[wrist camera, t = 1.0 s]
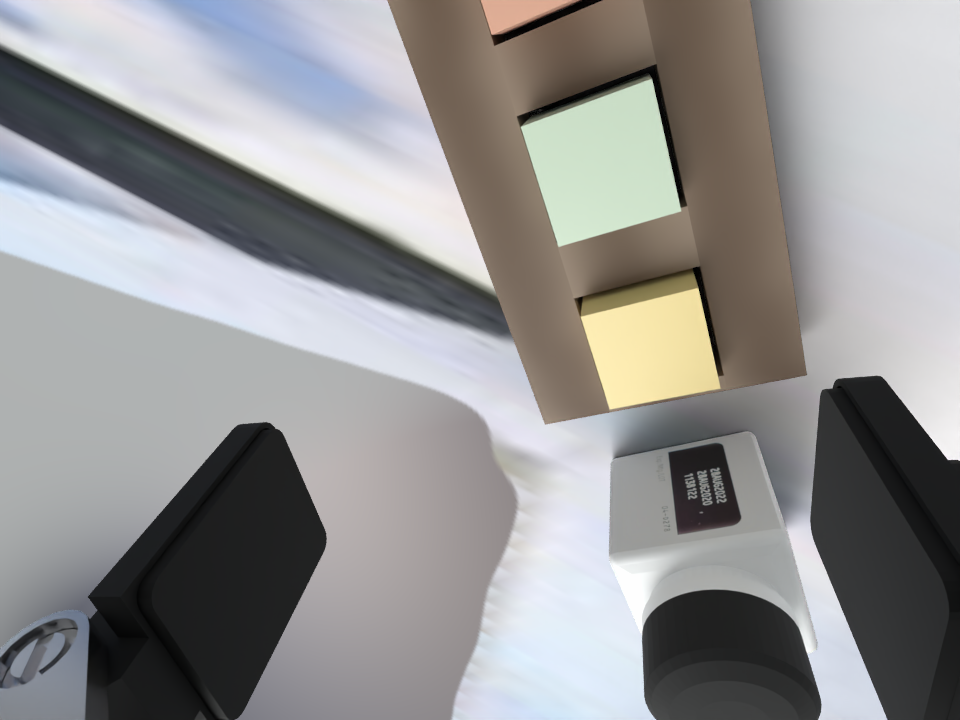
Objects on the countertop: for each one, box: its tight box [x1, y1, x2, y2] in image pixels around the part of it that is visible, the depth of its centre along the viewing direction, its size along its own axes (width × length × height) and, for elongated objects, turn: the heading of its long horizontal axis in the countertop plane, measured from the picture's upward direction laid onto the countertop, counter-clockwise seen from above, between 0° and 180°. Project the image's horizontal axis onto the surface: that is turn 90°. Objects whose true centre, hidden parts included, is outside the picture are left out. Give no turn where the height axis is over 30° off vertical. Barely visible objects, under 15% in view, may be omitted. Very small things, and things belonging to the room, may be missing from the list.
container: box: [609, 431, 821, 720], centre depth 29 cm, size 8×8×13 cm
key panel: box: [387, 0, 807, 424], centre depth 25 cm, size 12×23×3 cm, turn 20°
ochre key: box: [581, 268, 721, 409], centre depth 27 cm, size 5×5×3 cm
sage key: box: [521, 73, 681, 247], centre depth 24 cm, size 5×5×3 cm
